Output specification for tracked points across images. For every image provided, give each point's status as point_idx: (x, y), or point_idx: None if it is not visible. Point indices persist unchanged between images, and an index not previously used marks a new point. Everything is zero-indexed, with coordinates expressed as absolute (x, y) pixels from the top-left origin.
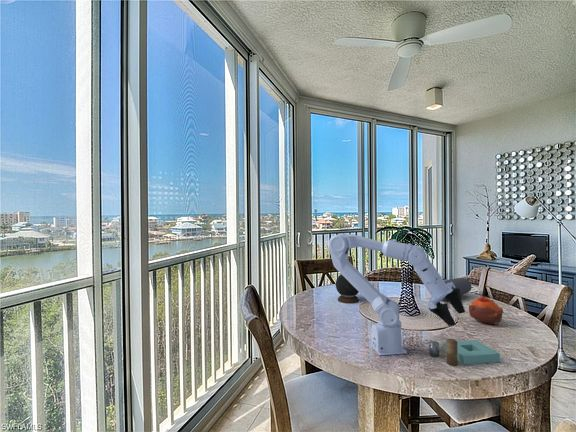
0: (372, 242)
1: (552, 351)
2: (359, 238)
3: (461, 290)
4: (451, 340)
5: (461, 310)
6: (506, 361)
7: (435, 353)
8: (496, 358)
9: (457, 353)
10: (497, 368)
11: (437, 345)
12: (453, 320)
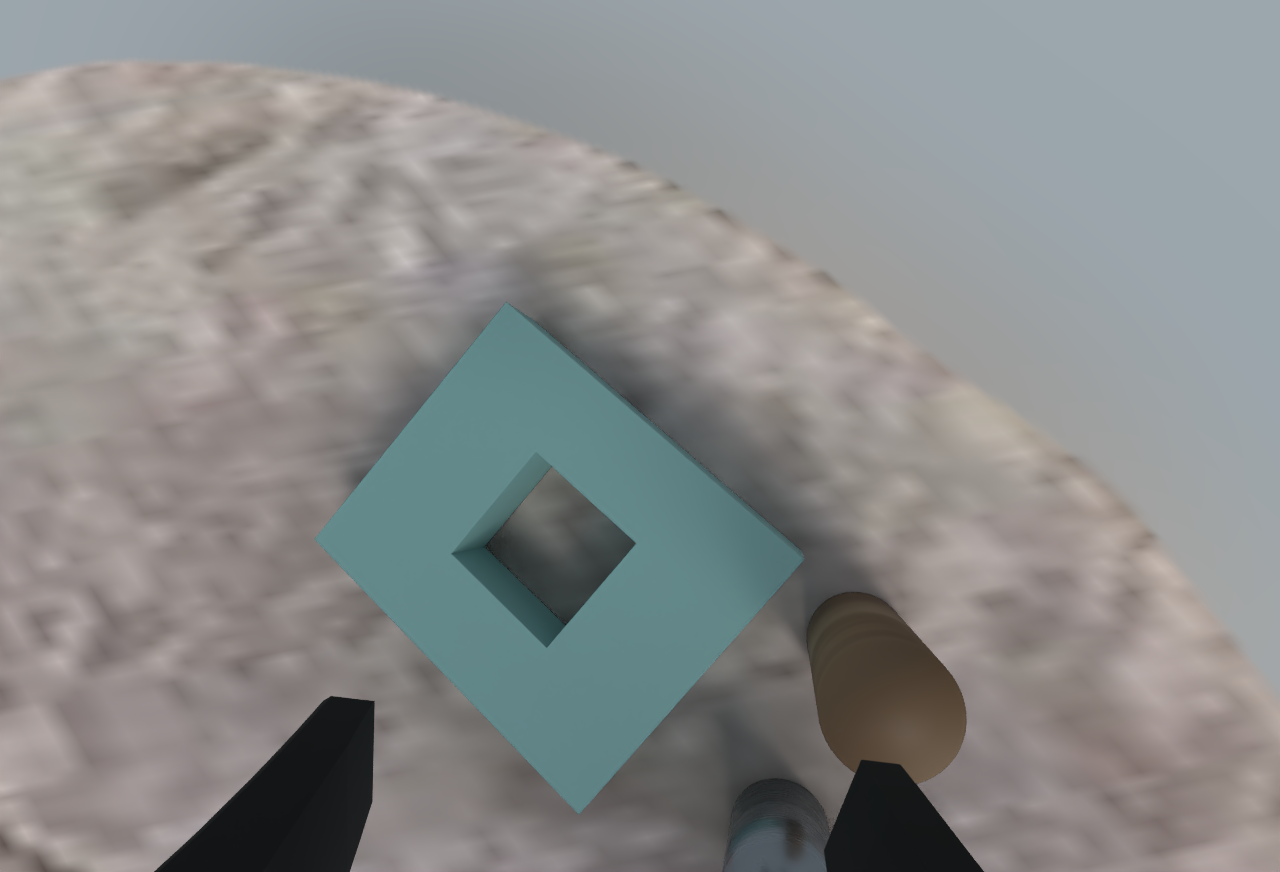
0: None
1: (113, 69)
2: None
3: None
4: (886, 716)
5: (353, 776)
6: (498, 283)
7: (823, 826)
8: (548, 335)
9: (867, 612)
10: (683, 311)
11: (809, 850)
12: (920, 823)
